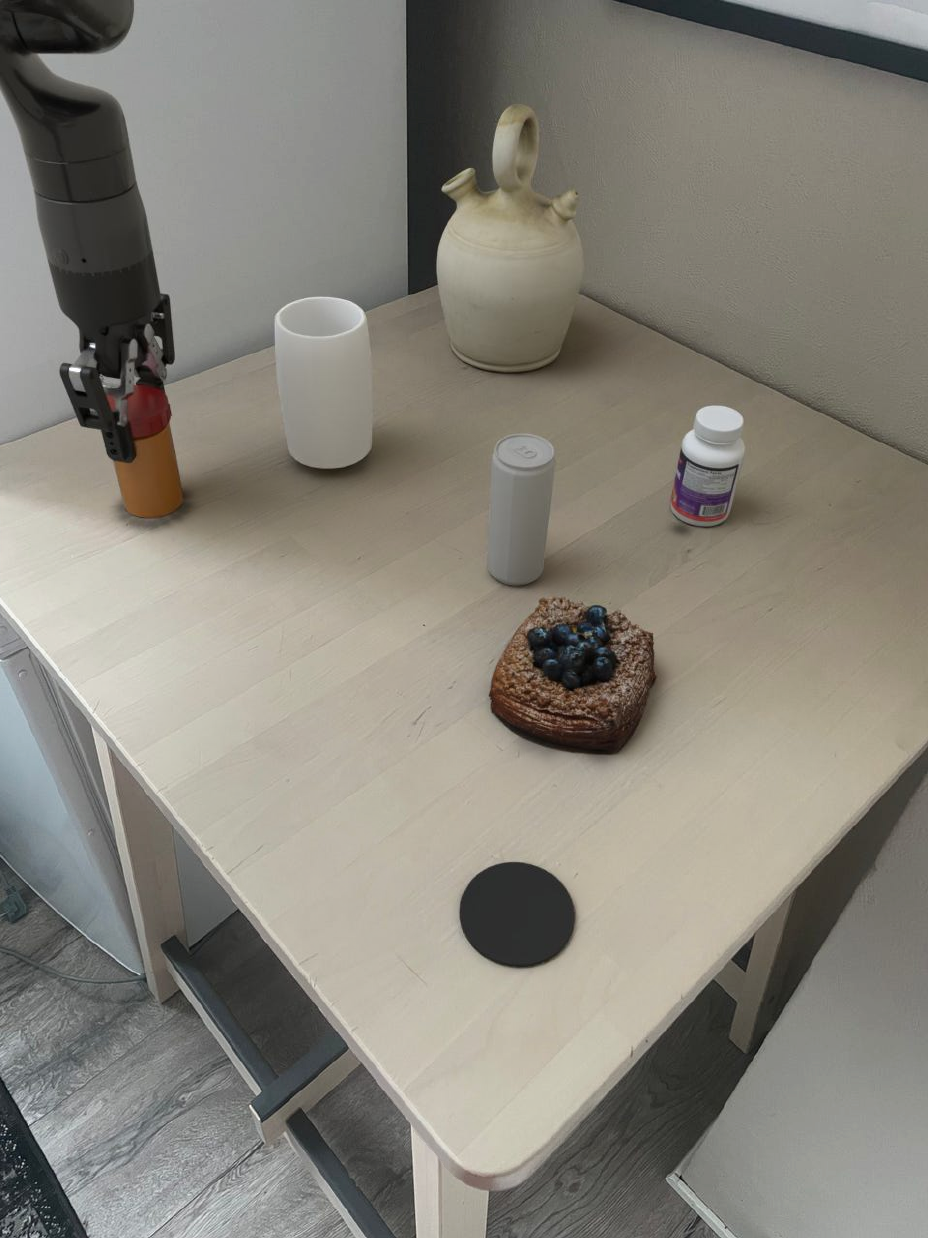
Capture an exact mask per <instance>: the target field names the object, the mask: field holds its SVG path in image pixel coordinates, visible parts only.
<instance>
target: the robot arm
mask: <svg viewBox="0 0 928 1238" xmlns="http://www.w3.org/2000/svg"><path fill="white" fill-rule="evenodd" d="M134 14H135V0H0V93H1V94H2V97H3V99H4V101H5V103H6V105H7V107H8V109H9V111H10V114H11V116H12V118H13V121H14V124H15V126H16V128H17V132H18V134H19V137H20V141H21V145H22V149H23V153H24V157H25V161H26V166H27V169H28V173H29V177H30V181H31V185H32V187H33V194H34V199H35V210H36V216H37V218H36V219H37V224H38V227H39V232H40V235H41V240H42V244H43V247H44V251H45V254H46V260H47V264H48V267H49V271H50V272H49V273H50V275H51V279H52V283H53V287H54V290H55V295H56V298H57V303H58V306H59V309H60V311H61V312H62V314H63V315H64V316H66V317H67V318H68V319H69V320H70V321H71V322H72V323H74V325H75V326H76V327H77V329H78V335H79V342H78V348H79V349H78V350H79V352H80V355H79V356H78V357H77V359H76V360H75V362H74V363H68V362H62V363H61V364H60V366H59V370H58V371H59V372H58V373H59V377H60V379H61V382H62V385H63V386H64V389H65V391H66V394H67V397H68V399H69V401H70V404H71V407H72V409H73V412H74V414H75V416H76V419H77V421H78V423H79V426H80V427H81V428H87V429H93V430H98V431H101V435H102V441H103V443H104V448H105V452H106V453H105V454H106V455H107V457H108V458H109V459H110V460H111V461H113V460H114V461H119V462H125V463H132V462H133V460H134V459H135V458H136V456H137V455H136V450H135V446H134V441H133V437H132V432H131V428H130V423H129V421H128V398H129V397H130V396H132V395H133V393H134V385H146V386H152V387H155V388H158V389H160V390H162V391H163V392H164V393H165V394H166V395H167V393H166V388H165V383H164V382H165V381H166V379H167V377H168V370H167V368H166V367H167V366H168V365H173V364H174V363H175V360H176V352H175V341H174V330H173V329H174V328H173V318H172V306H171V305H172V304H171V297H170V295H169V294H168V293H161V288H160V283H159V278H158V277H159V276H158V271H157V266H156V261H155V256H154V250H153V245H152V239H151V233H150V227H149V222H148V216H147V211H146V209H145V205H144V201H143V199H142V195H141V192H140V189H139V186H138V181H137V176H136V171H135V170H136V169H135V165H134V164H135V163H134V159H133V155H132V149H131V143H130V138H129V131H128V126H127V122H126V121H127V120H126V116H125V114H124V110H123V108H122V106H121V103H120V102H119V100H118V99H117V98H116V97H115V96H113V95H112V94H111V93H109V92H108V91H105V90H103V89H100V88H98V87H95V86H90V85H86V84H84V83H83V84H82V83H79V82H75V81H72V80H69V79H66V78H63V77H61V76H60V75H57V74H56V73H54V72H53V71H52V69H50V68H49V67H48V66H47V64H46V63H45V61H43V60H42V58H41V57H40V56H39V55H99V54H101V55H102V54H105V53H109V52H110V51H113V50H114V49H116V48H117V47H118V46H120V45H121V44H122V43H123V41H125V39H126V38H127V36H128V34H129V32H130V31H131V30H130V29H131V28H132V25H133V19H134ZM156 337H159V338H160V340H161V346H162V348H161V346H160V344H159V342H158V341H157V339H156ZM104 377H105V378H111V379H114V380H115V379H116V380H120V382H119V384H117V383H109V382H105V379H104ZM135 378H138V379H137V381H135ZM106 395H110V396H113V397H114V398H115V410H113V409H111V407H110V404H109V401H108V399H107V396H106Z"/></svg>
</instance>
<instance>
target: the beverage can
mask: <svg viewBox="0 0 928 1238" xmlns="http://www.w3.org/2000/svg"><path fill="white" fill-rule="evenodd" d="M555 469H556V457H555V448H554V446H553V445H552V443H551V442H550V441H548V440H547V439H546V438H544V437H542V436H539V435H536V434H531V433H512V434H509V435H506V436H503V437H502V438H500V439H499V440H498V441H497V442H496V443H495V445H494V451H493V454H492V459H491V476H490V477H491V478H490V493H489V512H488V528H487V546H486V548H487V549H486V568H487V570H488V572H489V574H490V575H491V576H492V577H493V578H494V579H495V580H496V581H498V582H500V583H502V584H504V585H508V586H514V587H515V586H517V587H519V586H525V585H528V584H531V583H533V582H534V581H536V580H537V579H538V578H539V577H541V575H542V573H543V571H544V564H545V558H546V557H545V556H546V550H547V549H546V548H547V540H548V533H549V523H550V514H551V508H552V507H551V505H552V496H553V487H554V479H555V478H554V477H555Z"/></svg>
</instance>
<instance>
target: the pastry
mask: <svg viewBox="0 0 928 1238" xmlns="http://www.w3.org/2000/svg"><path fill="white" fill-rule="evenodd" d="M538 603H539V604H538V606H537V607H536V608H535V609H534V611H533V612H532V613H530V614H529V615H528V617H527V618H525V620H524V621H523V622H522V623H521V624H520V625H519V627H517V630H516V631H515V632H514V634H513V635H512V637H511V639H510V640H509V642H508V644H507V645H506V646H505V648H504V650H503V652H502V654H501V656H500V658H498V659H499V660H498V662H497V663H496V665H495V667H494V671H493V674H492V677H491V682H490V689H489V693H488V697H489V700H490V701H491V702H490V712H491V713H492V714H493V715H494V716H495V717H496V719H498V721H499V722H500V723H501V724H502V725H503V726H504V727H506V728H507V729H508V730H509V731H511V732H512V733H514V734H516V735H517V736H519V737H521V738H523V739H525V740H527V741H529V742H533V743H534V744H537V745H541V746H544V747H546V748H550V749H555V750H559V751H564V752H568V753H569V752H570V753H575V754H577V753H578V754H589V755H591V754H592V755H614V754H617V753H618V752H620V751H621V750H622V749H623V748H624V747H625V746H626V745H627V744H628V743H629V742H630V740H631V739H632V737H633V735H634V734H635V732H636V731H637V729H638V727H639V724H640V722H641V721H642V718H643V715H644V712H645V709H646V707H647V704H648V701H649V696H650V693H651V690H652V687H653V686H654V684H655V682H656V680H657V679H658V675H657V674H656V671H655V650H654V645H655V640H654V633H653V632H652V631H648V630H644V629H642V628H641V627H640V626H639V625H638V624H637V623H635V624H632V622H631V621H630V620H628V617H626V615H625V614H624V613H622V611H620V610H618V609H616V610H614V612H611V613H609V614H608V610H607V608H606V607H605V606H603V605H600V604H594V605H593V604H592V605H590V606H586V605H585V604H584V602H583V601H576V603H575V602H573V601H570V599H569V598H566V596H561V597H557V596H553V597H552V598H545V597H544V596H543V597H541V598H539V599H538Z"/></svg>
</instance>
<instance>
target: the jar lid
mask: <svg viewBox="0 0 928 1238" xmlns="http://www.w3.org/2000/svg"><path fill="white" fill-rule="evenodd" d="M165 393H166V392H165ZM165 393H164V392H163V391H162V390H160V389H158V388H155V387H152V386H146V385H136V384H134V393H133V395H132V396H130V397H129V398H128V421H129V423H130V428H131V432H132V437H133V438H138V437H144V436H148V435H151V434H154V433H156V432H158V431H160V430H162V429H163V428H164V427H166V426H167V424H168V423H170V422H171V418H172V416H173V414H172V409H171V404H170V403H169V398H168V395H167V393H166V394H165ZM106 396H107V399H108V401H109V404H110V407H111V409H113V410H115V398H114V397H113V396H110V395H106Z"/></svg>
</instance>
